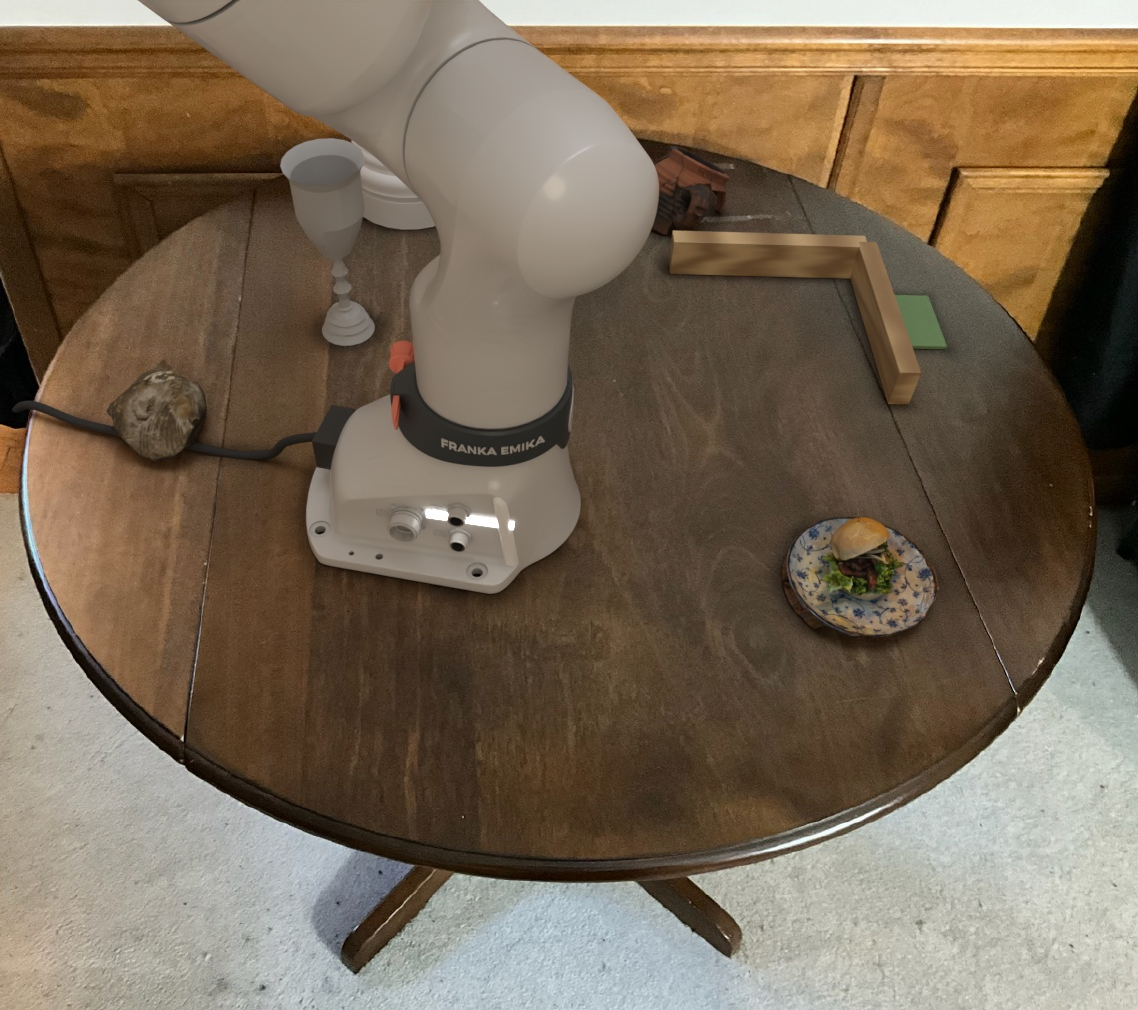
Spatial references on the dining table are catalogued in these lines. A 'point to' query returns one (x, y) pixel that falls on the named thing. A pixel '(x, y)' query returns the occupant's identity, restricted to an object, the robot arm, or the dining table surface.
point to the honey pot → (390, 198)
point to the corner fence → (814, 261)
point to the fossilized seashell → (159, 413)
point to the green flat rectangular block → (920, 322)
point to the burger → (858, 577)
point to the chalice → (331, 221)
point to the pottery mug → (686, 189)
